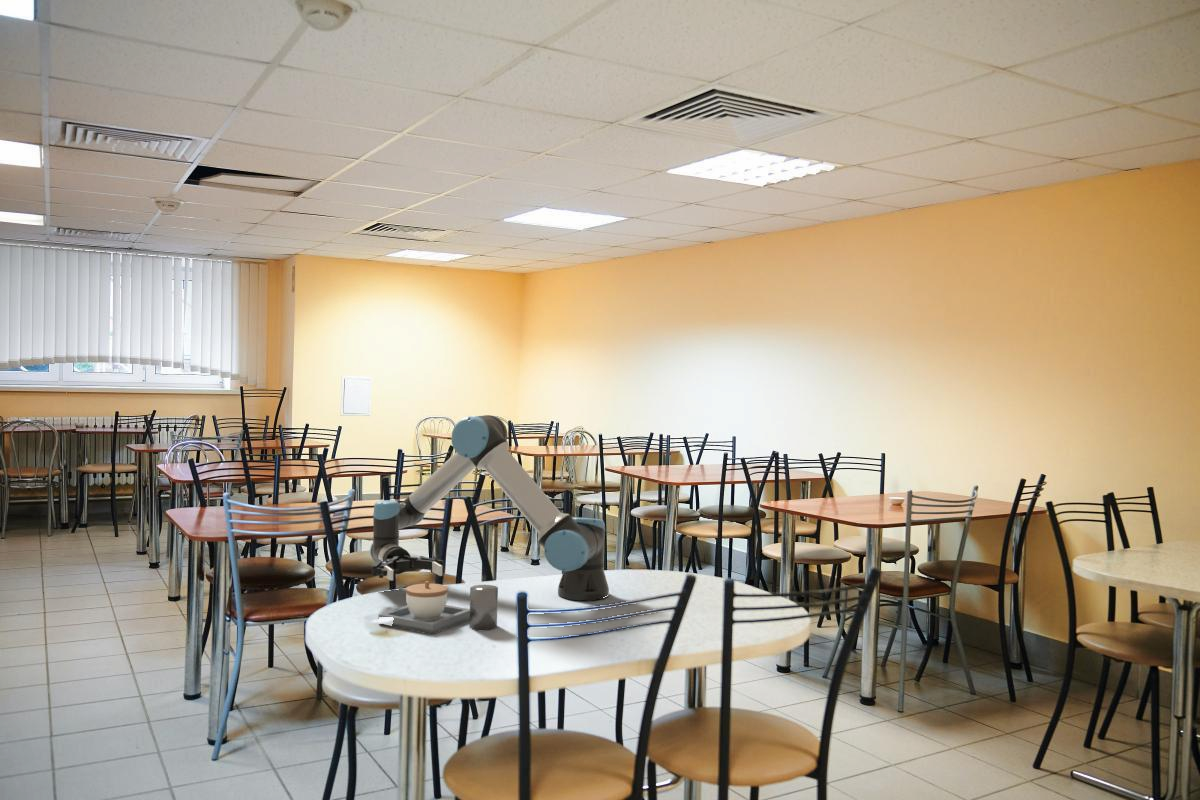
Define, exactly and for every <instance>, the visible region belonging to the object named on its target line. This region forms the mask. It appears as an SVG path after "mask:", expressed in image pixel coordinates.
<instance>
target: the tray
mask: <svg viewBox="0 0 1200 800" xmlns="http://www.w3.org/2000/svg"><path fill="white" fill-rule="evenodd" d="M379 617H393V618H394V620H393V624H392V627H391V628H395V627H396V629H400V628H403V629H402V630H406V629H407V631H411V630H414V631H413V632H416V631H419V632H418V633H421V632H424V633H423V634H427V633H430V634H429V635H432V634H433V635H435V634H437V633H436V632H438V633H440V632H442V630H443V631H445V630H447V629H446V628H448V629H450V628H449V627H451V628H453V627H456V626H458V625H460V623H461V624H463V623H465V621H466V622H468V621H470V608H466V607H459V606H453V605H449V604H448V605H447V604H446V606H445V609H444V611H443V612H442V613H441V614H440V615H439V616H438V618H437V619H435V620H430V621H422V620H417V619H414V616H413V615H411V613H410V612H409V610H408V607H407V604H406V605H404V606H401V607H398V608H395V609H392V610H389V611H386V612H382V613H380V614H378V618H379ZM467 620H468V621H467ZM457 624H458V625H457ZM455 625H456V626H455ZM452 626H453V627H452ZM444 629H445V630H444ZM439 631H440V632H439ZM434 633H435V634H434Z"/></svg>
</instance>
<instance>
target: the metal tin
mask: <svg viewBox="0 0 1200 800" xmlns="http://www.w3.org/2000/svg"><path fill="white" fill-rule="evenodd" d="M469 592H470V593H469V609H470V620H469V624H468V625H469V629H471V628H472V629H471V630H473V629H476V630H475V631H479V630H486V631H492V630H491V629H493V630H495V629H497V628H496V627H498V602H499V601H498V599H499V597H498V595H499V587H498V586H496V585H492V584H476V585H473V586H470V590H469ZM494 628H495V629H494Z"/></svg>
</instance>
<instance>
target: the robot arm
mask: <svg viewBox="0 0 1200 800" xmlns="http://www.w3.org/2000/svg"><path fill="white" fill-rule="evenodd" d="M506 426H507V425H506V424H505V423H504V421H502V420H501V419H500V418H499V417H497V416H494V415H490V414H488V415H486V414H485V415H468V416H467V417H463V418H462V419H460V420H459V421H458V422H456V424H455V425H454V427H453V428H452V432H451V445H452V447H453V449H454V451H455V452H454V453H453V455H452V456H450V457H449V458H448V459H447V460H446V461H445V462H444V463H443V464H442V465H441V466H440V467H438V468H437V470H435V471H434V472H433V473H432V474H431V475H430V476H429V477H428V478H427V479H426V480H425V481H423V483H421V484H420V485H419V486H418V487H417V488H416V489H414V491H413V492H411V493H410V495H409V496H408V497H406V498H405V499H404V500H403V501H402V502H401V503H399V501H397V500H390V499H388V500H387V499H386V500H385V499H383V500H378V501H376V502H375V503H374V507H373V514H372V515H373V517H372V518H373V520H372V521H373V534H372V535H373V536H372V537H373V539H372V543H371V545H370V547H369V556H370V557H371V558H372V560H373V561H374V563H373V564H372V566H371V576H373V577H374V576H375V577H376V576H378V578H379V579H383V578H384V577H385V578H386V579H388V580H389V581H394V575H401V574H403V573H405V572H407V571H408V570H409V571H417V570H428V571H432V573H434V574H435V575H438V577H442V576H443V570H444V560H442V559H439V558H432V557H425V556H423V555H420V556H419V558H418V557H415V556H411V554H410V552H409V551H408V550H406V549H405V548H403V547H401V546H400V543H399V541H400V540H399V539H400V530H402V529H404V528H407V527H413V526H415V525H417V524H419V523H421V522H422V521H423V519H424V517H425V514H426V513H427V512H428V511H429V510H431V509H432V508H433V507H434V506H435V505H436V504H438V503H439V502H440V501H441V500H442V498H444V497H445V496H446V495H447V494H449V492H451V490H453V489H454V488H455V487H456V486H457V485H458V484H459V483H460V482H462V480H463V479H465V478H466V477H467V476H468V475H469V474H470V473H471V472H472V471H474V470H475V469H478V470H485V471H486V473H487V474H488V475H489V476H490V477H491V478H492V480H493V481H494V482H495V483H496V484H497V486H499V488H500V489H501V490H502V492H503V493H504V494H505V495H506V497H508V499H510V501H511V502H512V504H514V506H515V507H516V508H517V509H518V511H519V512H520V513H521V514H522V515H523V516H524V518H525V519H526V520H527V521H528V523H529V524H530V525H531V526H532V528H534V529H535V531H536V532H537V542H538V543H539V544H540V546H541V547H543V549H544V551H543V553H544V557H545V559H546V560H547V562H548V565H549V564H550V566H552V568H554V569H556V570H558V571H562V572H563V573H562V575H561V578H560V580H559V584H558V587H557V595H558V596H559V597H561V598H563V599H567V600H570V601H572V600H573V601H581V600H591V601H597V600H596V599H600V598H603V597H605V596H607V595H608V594H609V593H610V588H609V584H608V581H607V578H606V573H605V570H604V569H605V568H604V566H605V565H604V562H605V536H606V534H605V532H606V527H605V526H606V524H605V522H604V520H603V519H600V518H593V517H592V518H590V517H579V516H578V517H575V516H574V517H573V516H571V514H569V513H563V512H561V511H560V510H559V508H557V506H556V505H555V504H554V503H553V501H551V499H550V498H549V497H548V496H547V494H545V492H544V491H543V489H542V488H541V487H540V486H539V485H538V484H537V482H535V480H534V478H532V477H531V476H530V474H529V473H528V472H527V471H526V470H525V468H524V467H523V466H522V465H521V464H520V463H519V462H518V460H517V459H516V458H515V457H514V456H513V455H512V453H511V452H510V451H509V442H508V429H507V427H506ZM600 600H601V599H600Z"/></svg>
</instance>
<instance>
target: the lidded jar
mask: <svg viewBox="0 0 1200 800" xmlns="http://www.w3.org/2000/svg"><path fill="white" fill-rule="evenodd" d="M448 591H449V588H448V586H446V585H444V584H441V583H430V581H429V580H427V581H424V583H416V584H412V585H409V586H407V587H405V601H406V605H407V607H408V610H409V612H410V613H411V615H413V616H414V619H417V620H422V621H430V620H435V619H437V618H438V616H439V615H440V614H441V613H442V612H443V611H444V609H445V606H446V605H447V600H448Z"/></svg>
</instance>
